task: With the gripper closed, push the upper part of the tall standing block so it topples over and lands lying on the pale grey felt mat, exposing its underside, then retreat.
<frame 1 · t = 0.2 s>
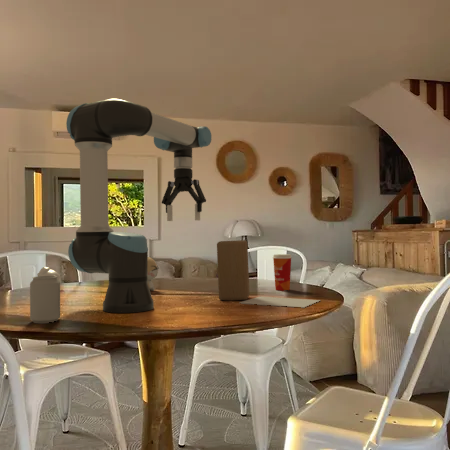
hand: (183, 220, 193), 28 cm above the table, fingers open, 13 cm apart
block: (234, 299, 164), on the table, touching felt mat
ghost figurine: (48, 292, 189), on the table
can: (45, 322, 126), on the table
paper cup: (282, 290, 188), on the table
kitten: (145, 291, 189), on the table
felt mat: (280, 302, 155), on the table
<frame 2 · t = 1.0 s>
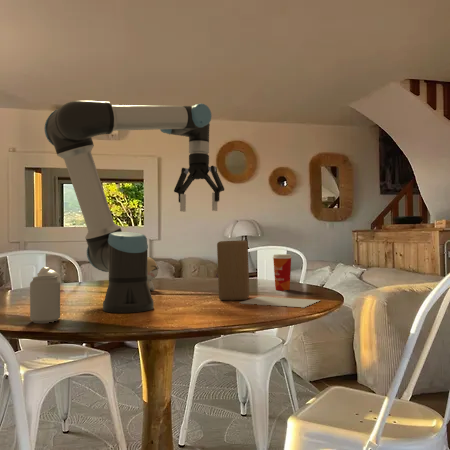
hand: (198, 211, 176), 31 cm above the table, fingers open, 13 cm apart
nothing on the table moved.
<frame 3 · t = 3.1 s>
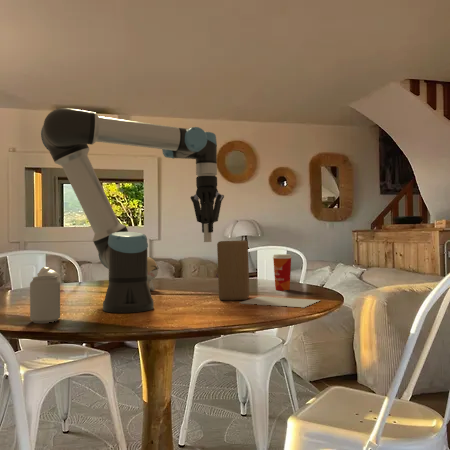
hand: (207, 241, 170), 20 cm above the table, fingers closed
nothing on the table moved.
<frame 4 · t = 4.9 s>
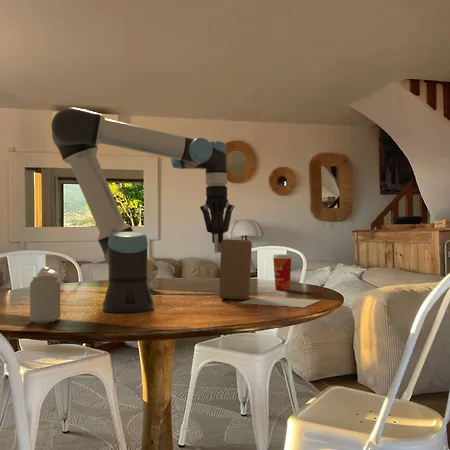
hand: (218, 252, 168), 16 cm above the table, fingers closed
block: (234, 298, 164), on the table, touching felt mat, gripper
everything else where it was.
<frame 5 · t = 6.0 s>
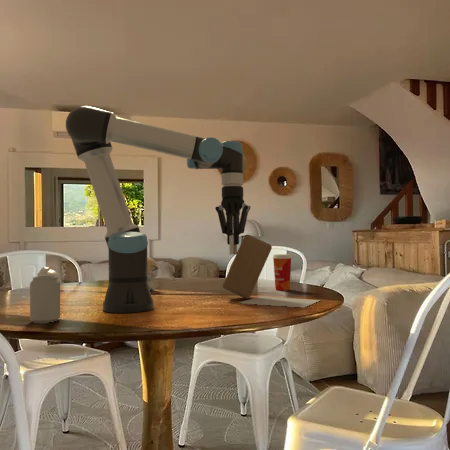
hand: (233, 254, 164), 16 cm above the table, fingers closed
block: (235, 293, 164), point 2 cm above the table, touching felt mat
everything else where it was.
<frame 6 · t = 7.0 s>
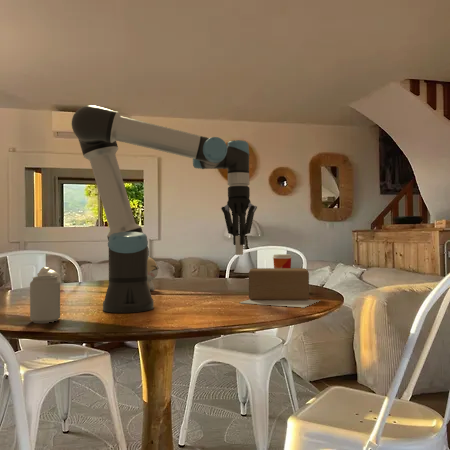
hand: (239, 254, 163), 15 cm above the table, fingers closed
block: (248, 283, 163), point 5 cm above the table, touching felt mat
everything else where it was.
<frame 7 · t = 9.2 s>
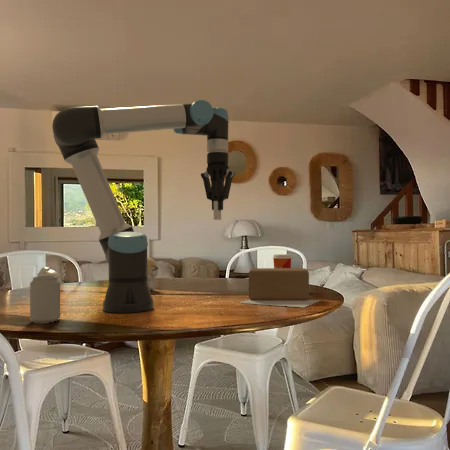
hand: (217, 219, 167), 28 cm above the table, fingers closed
nothing on the table moved.
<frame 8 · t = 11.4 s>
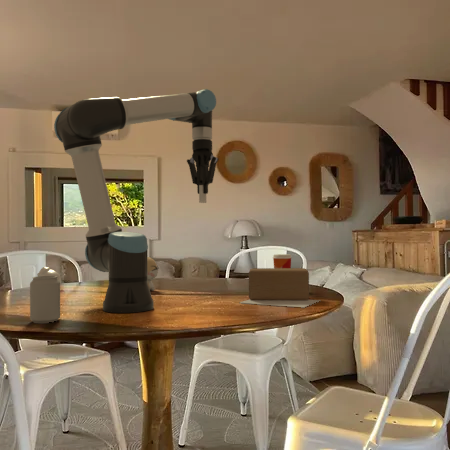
hand: (202, 202, 179), 34 cm above the table, fingers closed
nothing on the table moved.
at the end: block tilted 90°; block inside the target area (11.7 cm from its centre), point 5.3 cm above the table; block moved 7.2 cm from its start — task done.
